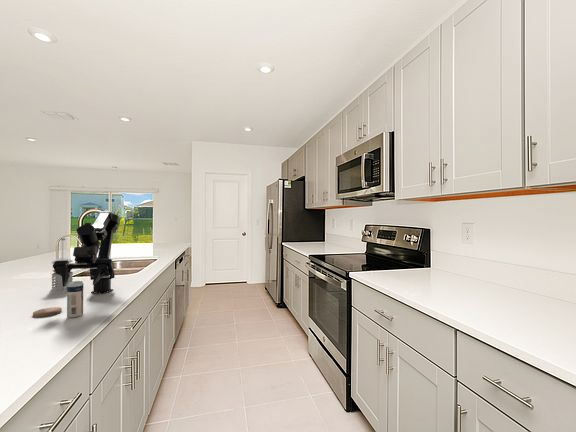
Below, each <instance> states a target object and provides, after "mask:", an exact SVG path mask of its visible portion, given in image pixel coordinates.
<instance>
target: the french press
mask: <svg viewBox="0 0 576 432" xmlns="http://www.w3.org/2000/svg"><path fill="white" fill-rule="evenodd" d="M60 241H61V242H62V246H61V248H62V251H61V252H62V255H61V256H62V257H60V258H56V259H54V260H52V261H51V264H53V263H54V262H55V261H57V260H68V262H69V263H72V262H74V260H73V259H71V258H68V257H64V241H66V238H65V237H60ZM72 270H73V269H71V271H70V273H69V274H70V276H69V279H68V281H67V284H66V286H65V287H63V283H62V276H60V275H58V274H56V272H55V270H54V269H53V270H52V271H53V273H51V289H50V290H49V291H48V292H49V293H51V294H58V293H67V285H68V284H69V283H70V282H74V281H73V279H74V278H73V277H74V276H73V273H74V272H73V271H72Z"/></svg>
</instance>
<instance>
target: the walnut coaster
mask: <svg viewBox="0 0 576 432" xmlns="http://www.w3.org/2000/svg"><path fill="white" fill-rule="evenodd" d="M62 310H63V308H62V307H61V306H60V307H59V306H58V307H57V306H55V307H53V306H51V307H45V308H40V309H38V310H35V311H34V312H32V317H33V318H45V317H46V318H47V317H53V316H56V315H59V314H60V313H62Z"/></svg>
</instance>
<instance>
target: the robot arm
mask: <svg viewBox="0 0 576 432" xmlns="http://www.w3.org/2000/svg"><path fill="white" fill-rule="evenodd" d="M120 224H121V219H120V217H119V215H118V214H114V213H113V212H112V211H104V210H103V211H99V213H98V216H97V217H96V219H95V221H94V222H93V224H92V223H91V222H85V223H84V224H81V225H80V226H79V227H78V228H76V234H77V237H78V239H79V242H80V244H82V246H74V247H73V253H72V256H73V257H74V262H75V263H72V262H70V263H69V262H68V260H57V261H55V262H54V263H52V268H53V270H55V272H54V273H56V274H58V275H60V276H62V283H63V287H65V286H66V284H67V281H68V279H69V276H70V274H69V273H70V271H71V272H72V270H73V269H74V270H79V269H82V270H89V278H90V281H92V286H93V287H92V288H93V290H92V291H91V292H90V293H92V294H106V293H109V292H112V291H114V289H113V288H112V287H111V285H112V280H113V279H114V278H115V277H116V275H115V266H114V262H113V259H111V258H110V255H111V249H112V243H113V237H114V236H113V235H114V233H115V232H116V231H117V230H118V228H119V226H120ZM71 269H72V270H71Z"/></svg>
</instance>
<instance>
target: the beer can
mask: <svg viewBox="0 0 576 432" xmlns="http://www.w3.org/2000/svg"><path fill="white" fill-rule="evenodd" d="M83 315H84V282H83V281H82V280H81V281H80V280H76V281H73V282H70V283H69V284H68V285H67V292H66V317H68V318H69V319H73V318H74V319H75V318H79V317H81V316H83Z"/></svg>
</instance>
